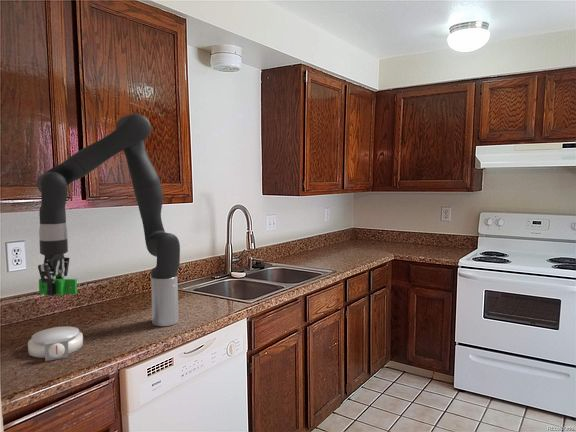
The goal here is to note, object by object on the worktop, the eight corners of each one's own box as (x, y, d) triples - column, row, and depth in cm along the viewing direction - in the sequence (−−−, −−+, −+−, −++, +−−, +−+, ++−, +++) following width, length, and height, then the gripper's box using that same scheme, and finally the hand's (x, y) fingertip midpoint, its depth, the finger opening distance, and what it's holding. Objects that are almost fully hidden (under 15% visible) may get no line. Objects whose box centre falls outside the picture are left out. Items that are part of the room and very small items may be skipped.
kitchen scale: (29, 344, 137) (28, 328, 136) (81, 335, 144) (80, 321, 143) (27, 365, 121) (26, 348, 121) (85, 354, 128) (84, 338, 128)
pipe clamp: (34, 296, 130) (33, 281, 130) (41, 293, 134) (40, 278, 133) (71, 296, 130) (70, 281, 130) (77, 293, 134) (76, 278, 133)
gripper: (53, 241, 123) (55, 299, 125) (77, 235, 137) (79, 287, 139) (27, 241, 123) (29, 299, 125) (53, 235, 137) (55, 287, 139)
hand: (55, 293), depth 132 cm, fingers closed on pipe clamp, 3 cm apart
